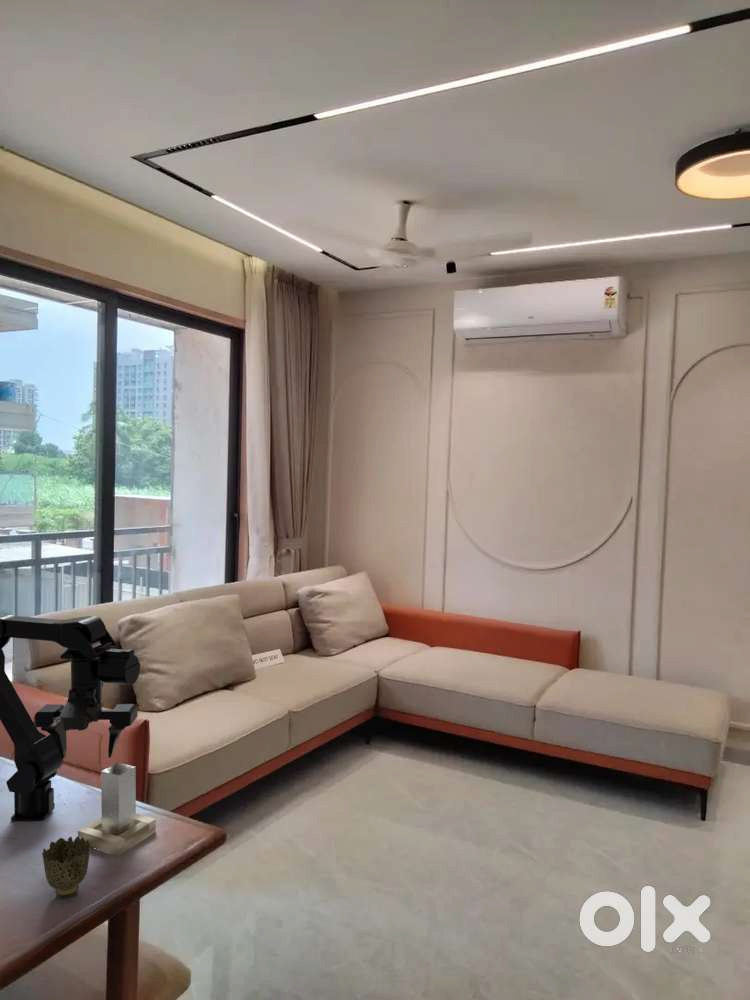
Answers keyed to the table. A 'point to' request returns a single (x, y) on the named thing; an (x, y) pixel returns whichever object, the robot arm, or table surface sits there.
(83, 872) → the cup
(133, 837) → the socket block
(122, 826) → the steel bar
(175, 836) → the table surface
